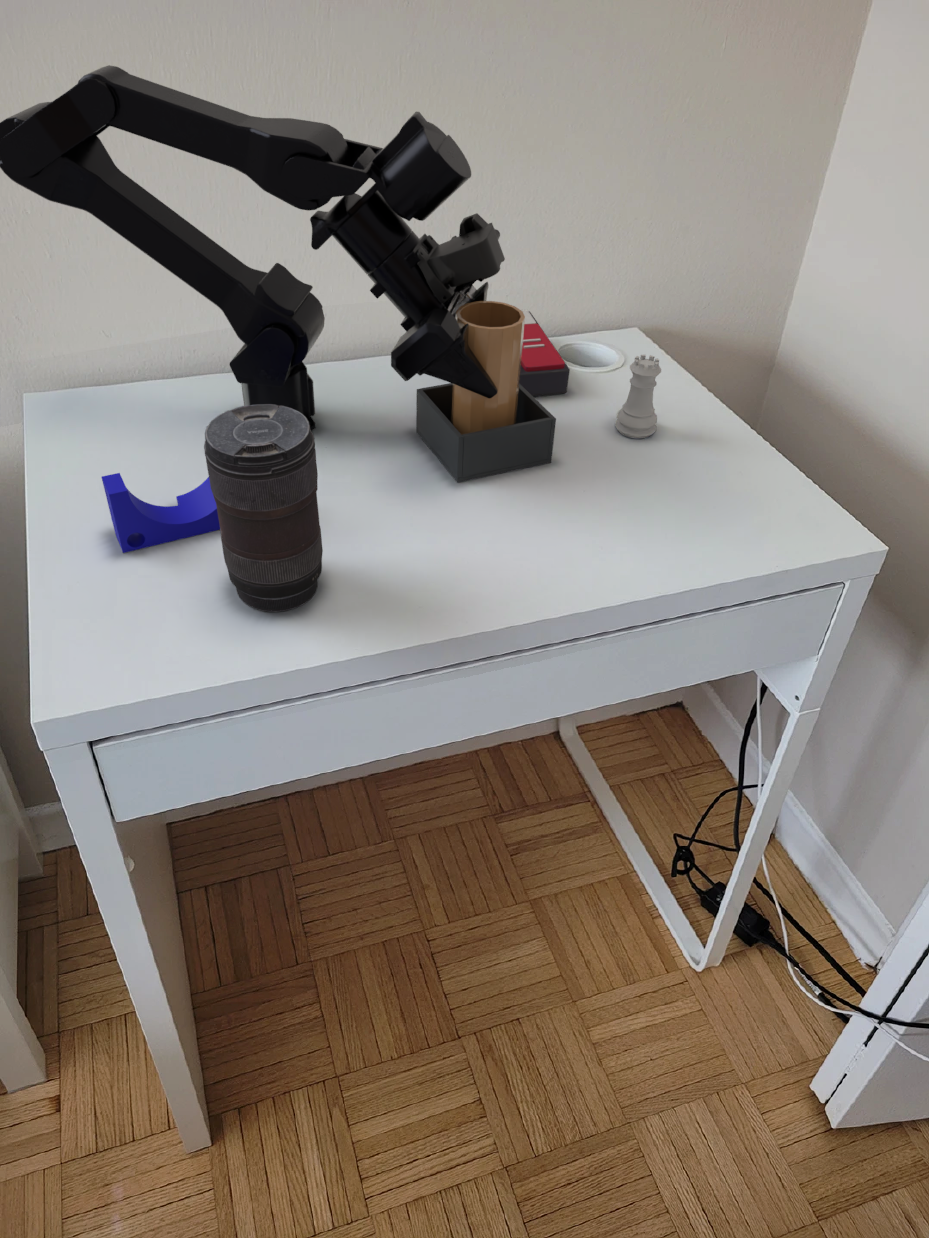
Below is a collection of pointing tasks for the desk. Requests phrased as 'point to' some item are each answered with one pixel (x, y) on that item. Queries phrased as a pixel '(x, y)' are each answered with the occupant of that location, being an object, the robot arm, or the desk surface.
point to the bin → (484, 436)
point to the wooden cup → (490, 365)
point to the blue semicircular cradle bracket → (158, 515)
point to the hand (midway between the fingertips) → (500, 379)
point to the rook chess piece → (640, 400)
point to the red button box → (541, 362)
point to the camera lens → (266, 503)
